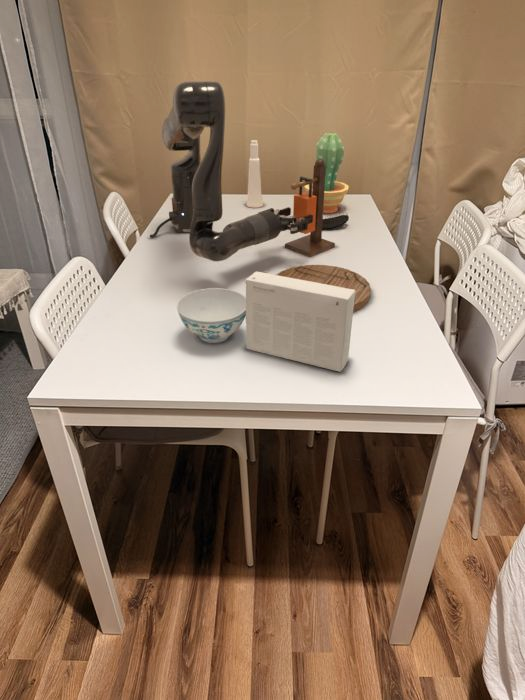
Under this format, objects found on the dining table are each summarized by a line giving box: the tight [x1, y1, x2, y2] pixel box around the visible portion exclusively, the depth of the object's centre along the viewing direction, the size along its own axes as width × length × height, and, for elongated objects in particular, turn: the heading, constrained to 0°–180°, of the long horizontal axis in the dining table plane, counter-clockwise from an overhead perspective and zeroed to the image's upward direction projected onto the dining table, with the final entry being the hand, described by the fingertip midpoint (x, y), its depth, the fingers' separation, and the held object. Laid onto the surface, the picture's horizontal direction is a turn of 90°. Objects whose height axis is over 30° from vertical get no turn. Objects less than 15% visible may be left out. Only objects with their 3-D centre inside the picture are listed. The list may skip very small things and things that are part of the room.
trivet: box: [276, 264, 372, 313], centre depth 135 cm, size 25×25×2 cm
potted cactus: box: [304, 132, 350, 214], centre depth 182 cm, size 15×15×25 cm
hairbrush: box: [290, 212, 350, 231], centre depth 174 cm, size 8×4×25 cm
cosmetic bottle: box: [246, 139, 264, 209], centre depth 187 cm, size 6×6×22 cm
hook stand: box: [284, 159, 336, 258], centre depth 152 cm, size 14×10×25 cm
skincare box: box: [245, 271, 355, 373], centre depth 107 cm, size 21×6×16 cm, turn 65°
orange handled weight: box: [292, 176, 317, 235], centre depth 151 cm, size 4×5×15 cm
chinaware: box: [176, 287, 246, 344], centre depth 116 cm, size 15×15×8 cm
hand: (300, 214), depth 151 cm, fingers open, 8 cm apart
